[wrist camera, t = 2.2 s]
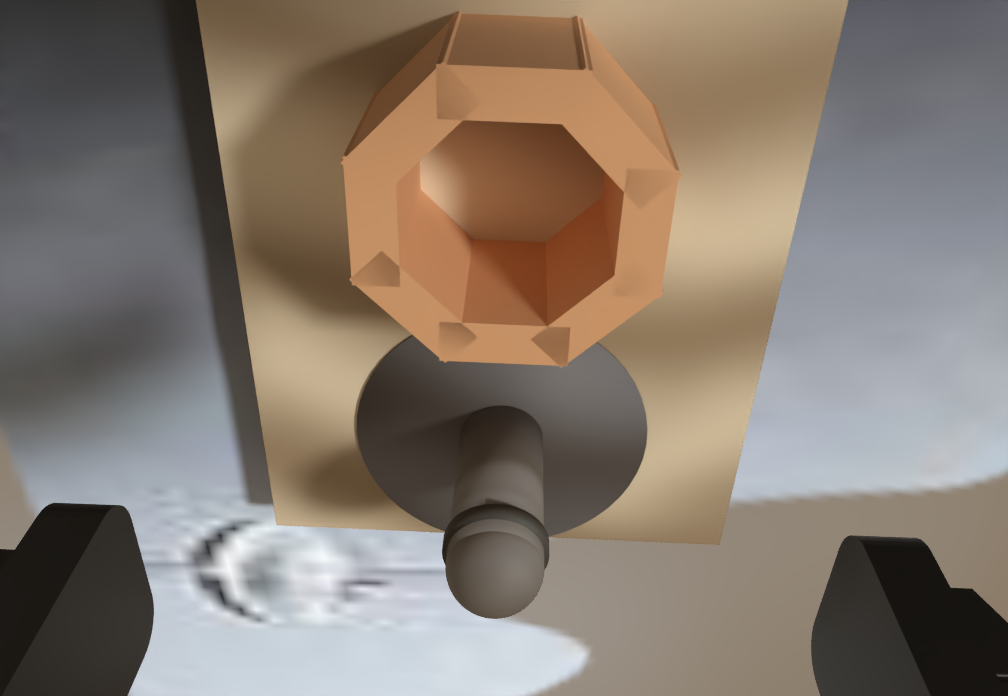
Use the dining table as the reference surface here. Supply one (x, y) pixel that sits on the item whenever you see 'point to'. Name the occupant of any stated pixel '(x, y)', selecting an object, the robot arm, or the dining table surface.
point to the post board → (513, 217)
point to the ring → (499, 263)
